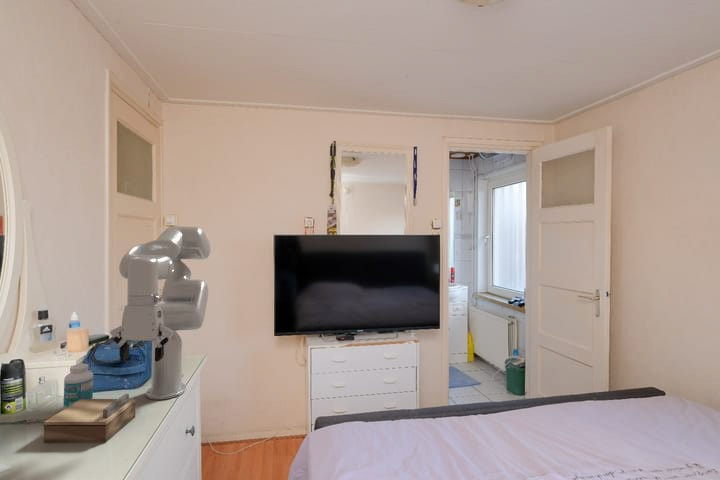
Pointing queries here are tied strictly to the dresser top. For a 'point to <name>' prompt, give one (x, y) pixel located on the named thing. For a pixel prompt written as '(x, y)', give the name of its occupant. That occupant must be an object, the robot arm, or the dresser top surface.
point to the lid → (91, 411)
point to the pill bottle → (78, 384)
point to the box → (88, 430)
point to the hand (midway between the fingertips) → (141, 359)
